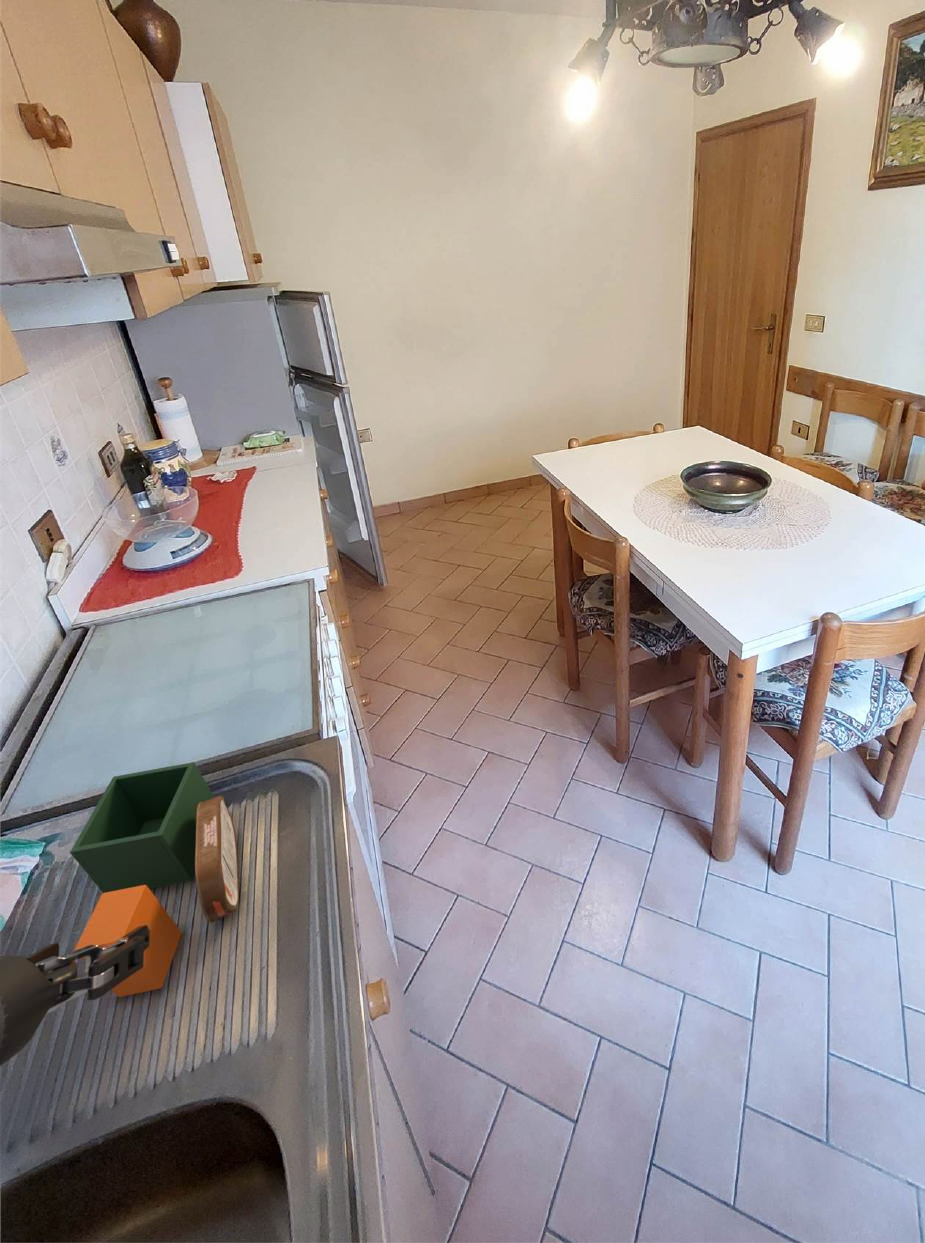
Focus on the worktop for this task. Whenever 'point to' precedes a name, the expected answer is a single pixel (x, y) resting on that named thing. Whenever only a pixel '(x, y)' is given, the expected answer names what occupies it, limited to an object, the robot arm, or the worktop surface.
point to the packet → (121, 917)
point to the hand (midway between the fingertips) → (99, 945)
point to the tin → (216, 859)
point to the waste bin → (144, 829)
